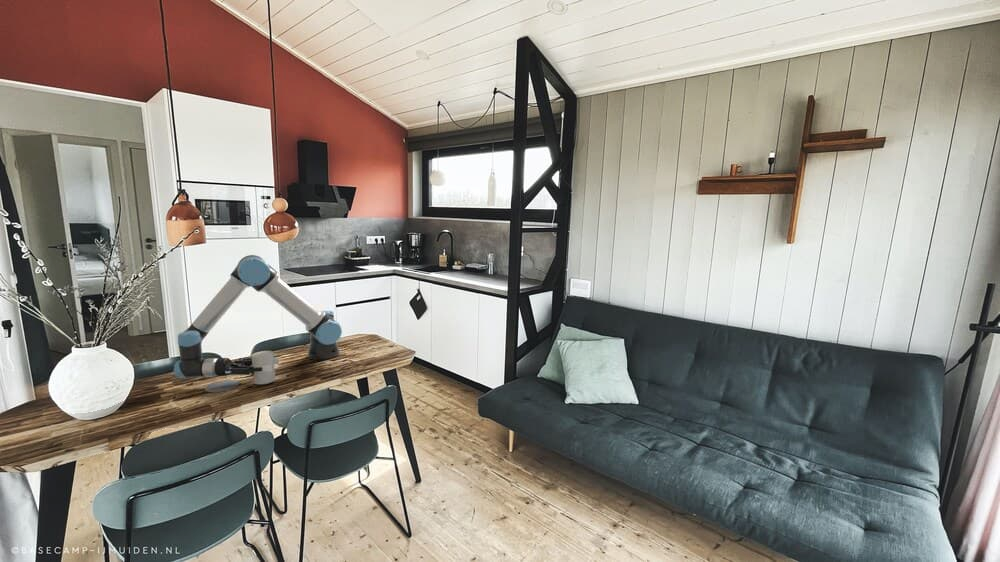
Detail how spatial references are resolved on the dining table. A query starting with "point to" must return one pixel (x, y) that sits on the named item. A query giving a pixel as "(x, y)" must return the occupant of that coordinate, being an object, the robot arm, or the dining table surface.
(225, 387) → the metal disc
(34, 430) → the dining table surface
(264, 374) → the cup
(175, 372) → the robot arm
